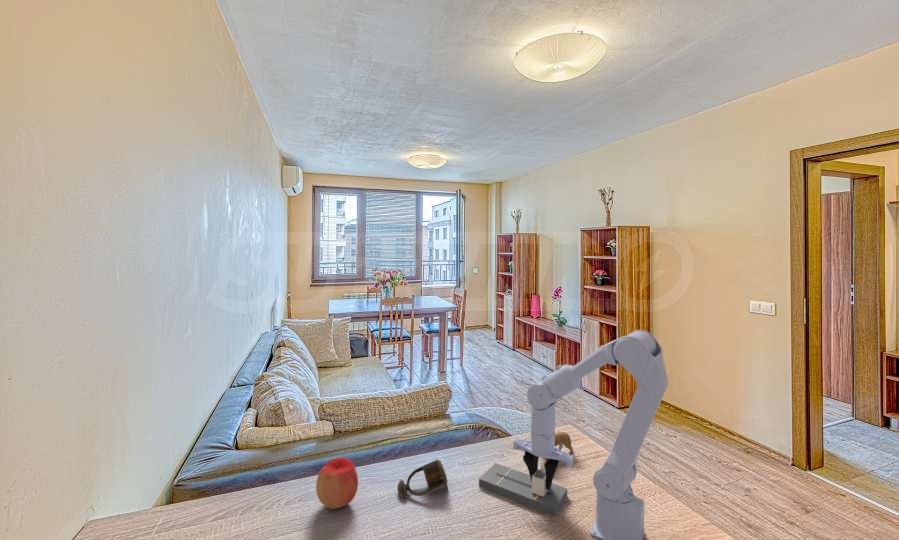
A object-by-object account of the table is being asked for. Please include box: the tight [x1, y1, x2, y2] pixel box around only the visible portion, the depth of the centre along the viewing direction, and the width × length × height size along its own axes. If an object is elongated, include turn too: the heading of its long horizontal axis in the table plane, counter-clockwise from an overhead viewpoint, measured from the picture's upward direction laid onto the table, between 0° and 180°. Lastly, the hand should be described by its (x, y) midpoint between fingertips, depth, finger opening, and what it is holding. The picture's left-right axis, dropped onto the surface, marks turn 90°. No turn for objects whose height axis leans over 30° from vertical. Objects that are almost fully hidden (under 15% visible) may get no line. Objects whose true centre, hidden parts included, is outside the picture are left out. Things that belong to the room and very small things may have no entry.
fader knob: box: [532, 466, 548, 497], centre depth 94 cm, size 3×5×4 cm, turn 146°
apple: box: [315, 457, 359, 510], centre depth 91 cm, size 10×10×10 cm
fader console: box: [478, 462, 568, 518], centre depth 97 cm, size 20×9×2 cm, turn 56°
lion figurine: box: [544, 431, 574, 461], centre depth 114 cm, size 15×5×9 cm, turn 118°
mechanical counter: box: [397, 459, 449, 499], centre depth 97 cm, size 7×13×10 cm
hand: (541, 484), depth 94 cm, fingers closed on fader knob, 3 cm apart
